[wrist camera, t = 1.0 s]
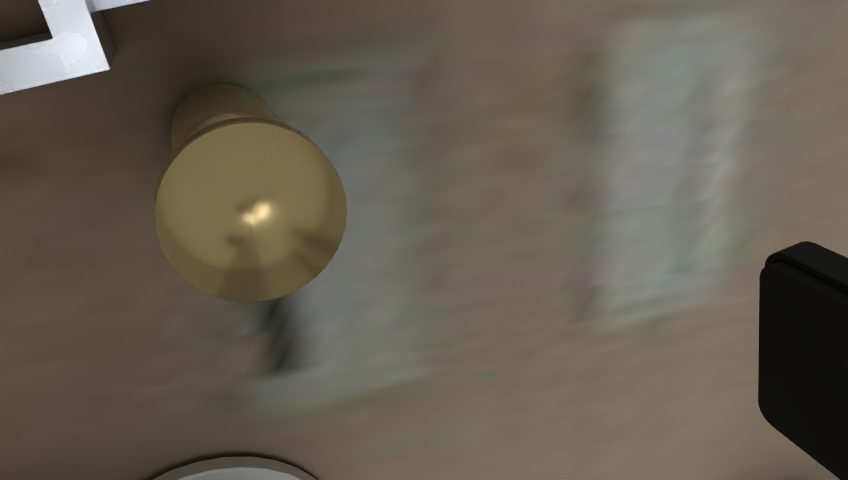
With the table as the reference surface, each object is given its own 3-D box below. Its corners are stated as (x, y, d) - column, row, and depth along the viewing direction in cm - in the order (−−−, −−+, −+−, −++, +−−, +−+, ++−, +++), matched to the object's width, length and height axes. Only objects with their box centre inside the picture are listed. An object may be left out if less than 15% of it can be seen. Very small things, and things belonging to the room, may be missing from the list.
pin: (235, 218, 28) (268, 333, 20) (128, 143, 26) (112, 235, 17) (313, 126, 28) (381, 201, 19) (213, 41, 26) (239, 83, 17)
